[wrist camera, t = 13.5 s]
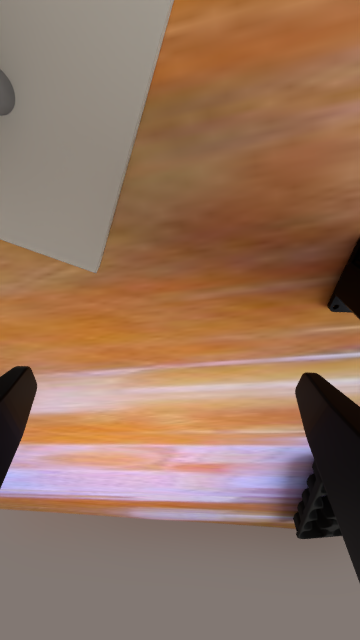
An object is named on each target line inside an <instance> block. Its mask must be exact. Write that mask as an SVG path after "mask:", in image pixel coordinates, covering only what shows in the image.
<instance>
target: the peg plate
mask: <svg viewBox="0 0 360 640" xmlns="http://www.w3.org/2000/svg"><path fill="white" fill-rule="evenodd" d="M173 2H174V0H0V239H1V240H4V241H6V242H9V243H12V244H15V245H18V246H20V247H23V248H26V249H29V250H32V251H35V252H37V253H40V254H43V255H46V256H49V257H52V258H54V259H57V260H60V261H63V262H66V263H68V264H71V265H74V266H77V267H80V268H83V269H85V270H88V271H91V272H94V273H97V271H98V269H99V267H100V263H101V260H102V256H103V253H104V249H105V246H106V242H107V238H108V235H109V231H110V228H111V224H112V220H113V217H114V213H115V210H116V206H117V202H118V199H119V195H120V192H121V188H122V185H123V181H124V177H125V174H126V170H127V167H128V163H129V159H130V156H131V152H132V149H133V145H134V142H135V138H136V134H137V131H138V127H139V124H140V120H141V116H142V113H143V109H144V106H145V102H146V98H147V95H148V91H149V88H150V84H151V81H152V77H153V73H154V70H155V66H156V63H157V59H158V55H159V52H160V48H161V45H162V41H163V37H164V34H165V30H166V27H167V23H168V20H169V16H170V12H171V9H172V5H173Z"/></svg>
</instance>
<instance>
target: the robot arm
mask: <svg viewBox="0 0 360 640" xmlns="http://www.w3.org/2000/svg"><path fill="white" fill-rule="evenodd" d="M334 305H336V306H334ZM333 306H334V307H333ZM328 308H329V309H330V310H331V311H332V312H351V313H354V314H355V315H356V316H357V317H358V318H359V319H360V239H359V240H358V242H357V244H356V246H355V248H354V250H353V252H352V254H351V257H350V259H349V261H348V263H347V265H346V267H345V269H344V271H343V273H342V275H341V277H340V279H339V281H338V284H337V286H336V288H335V290H334V293H333V295H332V297H331V299H330V301H329V303H328ZM36 391H37V382H36V380H35V377H34V375H33V372H32V370H31V368H30V367H28V366H16V367H14V368H12V369H11V370H9V371H8V372H7V373H5V374H4V375H2V376H1V377H0V488H1V486H2V483H3V481H4V479H5V476H6V474H7V472H8V469H9V467H10V464H11V462H12V460H13V457H14V455H15V453H16V450H17V448H18V446H19V443H20V441H21V438H22V436H23V433H24V430H25V427H26V424H27V420H28V417H29V414H30V410H31V407H32V404H33V401H34V397H35V394H36ZM295 394H296V399H297V402H298V406H299V410H300V414H301V418H302V422H303V426H304V430H305V434H306V437H307V440H308V443H309V446H310V449H311V452H312V454H313V457H314V460H315V462H316V465H317V468H318V471H319V473H320V476H321V479H322V481H323V484H324V487H325V490H326V492H327V495H328V498H329V501H330V503H331V506H332V509H333V511H334V514H335V517H336V520H337V522H338V525H339V528H340V531H341V533H342V536H343V539H344V541H345V544H346V547H347V549H348V552H349V555H350V558H351V561H352V563H353V566H354V569H355V571H356V574H357V577H358V580H359V582H360V407H359V406H358V405H357V404H355V403H354V402H353V401H352V400H350V399H349V398H348V397H347V396H345V395H344V394H343V393H342V392H340V391H339V390H338V389H336V388H335V387H334V386H333V385H331V384H330V383H329V382H328V381H326V380H325V379H324V378H323V377H321V376H320V375H319V374H317V373H304V374H303V375H302V376H301V378H300V381H299V383H298V385H297V387H296V390H295Z"/></svg>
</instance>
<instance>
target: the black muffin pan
mask: <svg viewBox="0 0 360 640" xmlns="http://www.w3.org/2000/svg"><path fill="white" fill-rule="evenodd" d="M312 468H313V471H314V474H312V475H310V476H309V478H308V480H307V485H308V488H307V489H305V490H304V491H303V494H302V499H303V501H302V502H300V503H299V505H298V512H297V513H296V514H295V515H294V518H293V519H294V523H295V527H296V530H297V533H296V535H297V537H298V538H300V539H311V538H322V537H333V536H342V533H341V531H340V528H339V525H338V522H337V520H336V517H335V514H334V511H333V509H332V506H331V503H330V501H329V498H328V495H327V492H326V490H325V487H324V484H323V481H322V479H321V476H320V473H319V471H318V468H317V465H316V462H315V460H314V463H313V466H312ZM323 495H326V496H324V497H321V496H323Z"/></svg>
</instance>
